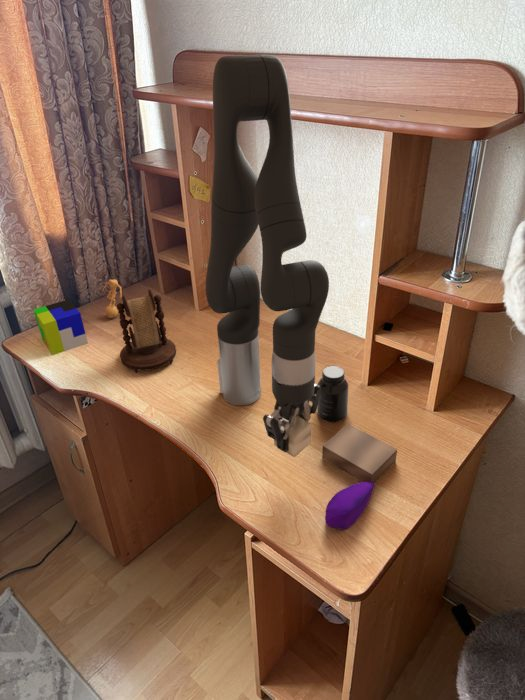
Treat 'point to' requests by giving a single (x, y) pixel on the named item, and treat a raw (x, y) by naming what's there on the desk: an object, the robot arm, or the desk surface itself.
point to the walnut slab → (359, 454)
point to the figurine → (111, 309)
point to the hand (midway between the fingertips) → (292, 441)
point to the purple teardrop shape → (348, 505)
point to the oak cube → (298, 436)
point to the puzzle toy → (61, 326)
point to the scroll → (144, 334)
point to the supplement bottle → (333, 394)
